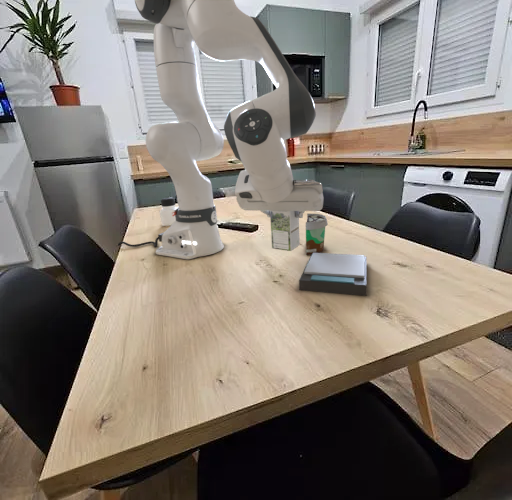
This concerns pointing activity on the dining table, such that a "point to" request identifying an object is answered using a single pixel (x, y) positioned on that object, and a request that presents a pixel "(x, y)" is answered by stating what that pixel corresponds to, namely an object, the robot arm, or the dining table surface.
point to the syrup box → (284, 230)
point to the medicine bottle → (168, 211)
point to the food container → (315, 233)
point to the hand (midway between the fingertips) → (285, 215)
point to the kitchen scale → (335, 274)
